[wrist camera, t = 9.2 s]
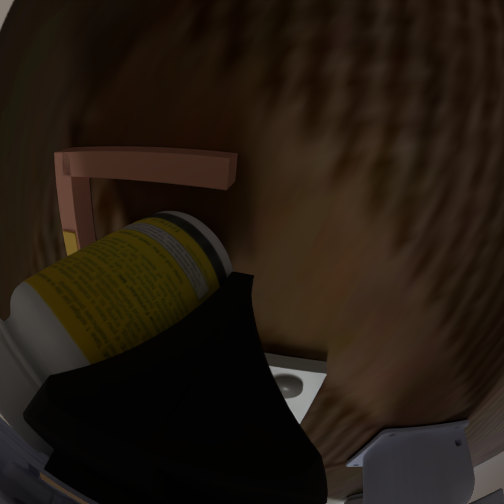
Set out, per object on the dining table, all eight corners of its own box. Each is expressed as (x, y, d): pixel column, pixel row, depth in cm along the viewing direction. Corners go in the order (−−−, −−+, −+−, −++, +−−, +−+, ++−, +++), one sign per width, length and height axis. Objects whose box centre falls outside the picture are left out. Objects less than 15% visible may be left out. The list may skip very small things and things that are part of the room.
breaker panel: (326, 361, 13) (326, 376, 12) (298, 416, 16) (297, 429, 15) (114, 315, 14) (105, 326, 13) (133, 377, 17) (127, 388, 16)
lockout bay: (237, 153, 9) (229, 159, 8) (222, 344, 13) (216, 363, 12) (72, 147, 10) (52, 153, 8) (97, 309, 14) (85, 323, 13)
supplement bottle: (136, 200, 10) (-54, 297, 4) (240, 218, 9) (-21, 406, 2) (151, 298, 13) (16, 407, 6) (238, 333, 11) (96, 499, 4)
